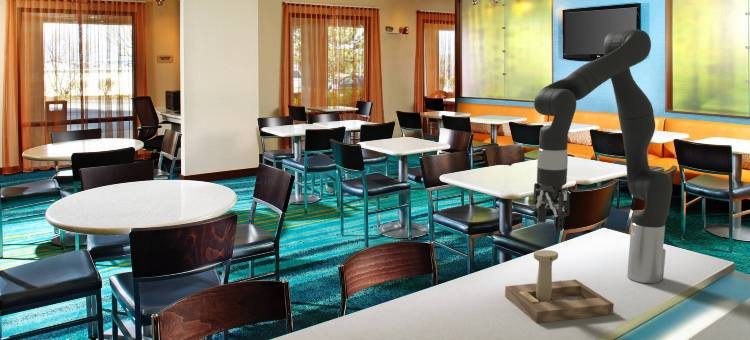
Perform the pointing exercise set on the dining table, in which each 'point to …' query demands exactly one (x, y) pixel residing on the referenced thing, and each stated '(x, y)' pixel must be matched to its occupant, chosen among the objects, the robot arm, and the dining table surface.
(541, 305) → the square wooden frame
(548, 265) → the handle
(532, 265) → the dining table surface
